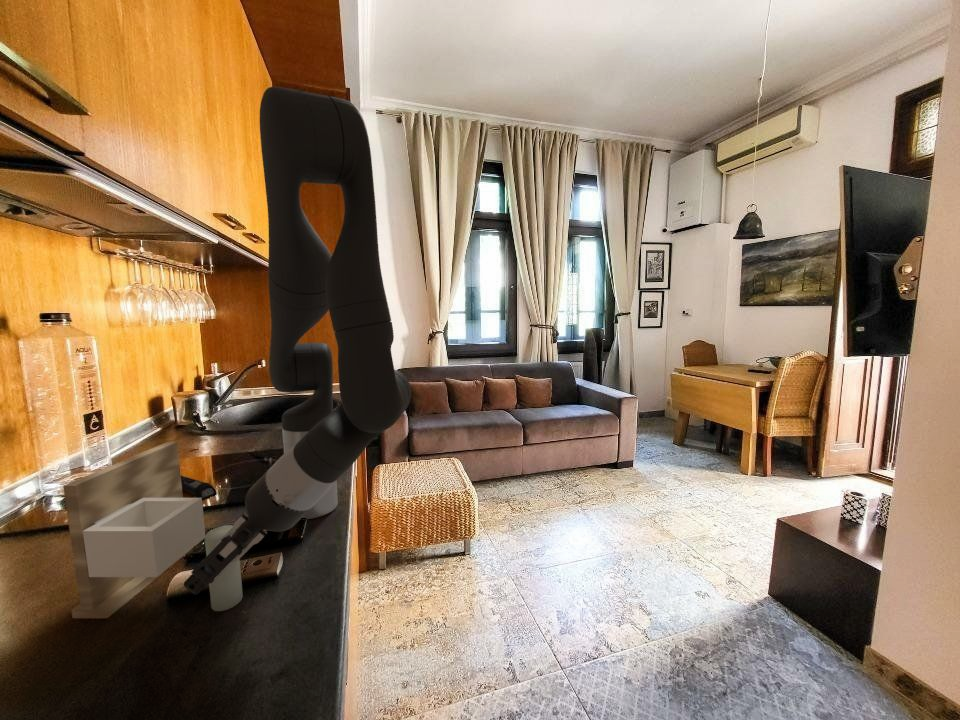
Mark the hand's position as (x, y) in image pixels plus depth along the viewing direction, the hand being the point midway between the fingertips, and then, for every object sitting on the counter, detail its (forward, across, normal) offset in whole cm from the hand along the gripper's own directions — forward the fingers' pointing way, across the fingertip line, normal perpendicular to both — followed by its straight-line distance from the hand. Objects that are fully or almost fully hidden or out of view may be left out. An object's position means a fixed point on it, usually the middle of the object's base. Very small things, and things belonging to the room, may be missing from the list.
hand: (214, 565), depth 52 cm
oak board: (+14, -5, -7) cm, 16 cm away
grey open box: (+6, -1, -7) cm, 10 cm away
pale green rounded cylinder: (+3, 0, +5) cm, 5 cm away
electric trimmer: (+24, -32, -16) cm, 43 cm away
